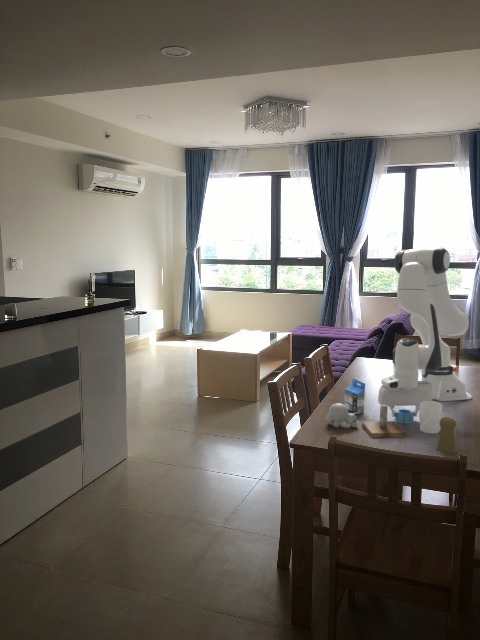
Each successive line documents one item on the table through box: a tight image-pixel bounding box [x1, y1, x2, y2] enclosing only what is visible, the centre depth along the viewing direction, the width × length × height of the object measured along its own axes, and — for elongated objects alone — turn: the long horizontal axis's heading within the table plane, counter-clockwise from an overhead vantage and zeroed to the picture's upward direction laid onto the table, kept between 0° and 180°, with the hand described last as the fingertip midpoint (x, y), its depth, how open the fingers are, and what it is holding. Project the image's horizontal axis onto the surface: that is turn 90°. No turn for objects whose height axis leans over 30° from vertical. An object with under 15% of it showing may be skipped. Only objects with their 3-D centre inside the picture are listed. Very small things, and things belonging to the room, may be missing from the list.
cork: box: [436, 416, 457, 455], centre depth 177 cm, size 6×6×11 cm
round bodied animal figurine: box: [325, 402, 360, 429], centre depth 199 cm, size 7×12×8 cm, turn 72°
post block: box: [361, 404, 406, 438], centre depth 194 cm, size 12×12×10 cm
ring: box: [394, 408, 415, 424], centre depth 206 cm, size 7×7×4 cm
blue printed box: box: [344, 378, 366, 415], centre depth 218 cm, size 9×4×12 cm, turn 23°
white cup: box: [418, 400, 443, 435], centre depth 195 cm, size 8×8×10 cm
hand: (404, 416), depth 206 cm, fingers closed on ring, 7 cm apart
